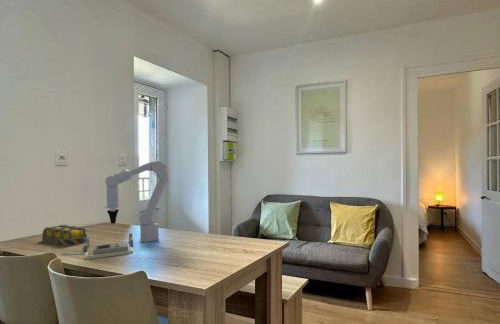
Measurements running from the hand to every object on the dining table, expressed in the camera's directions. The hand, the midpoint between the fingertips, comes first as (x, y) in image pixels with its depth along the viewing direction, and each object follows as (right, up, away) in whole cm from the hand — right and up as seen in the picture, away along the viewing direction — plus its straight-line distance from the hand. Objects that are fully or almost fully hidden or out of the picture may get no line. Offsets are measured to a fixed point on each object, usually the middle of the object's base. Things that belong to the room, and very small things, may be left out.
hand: (113, 223), depth 171 cm
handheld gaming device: (+8, -10, -21) cm, 25 cm away
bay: (+8, -10, -23) cm, 27 cm away
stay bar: (-9, -11, -22) cm, 26 cm away
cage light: (-31, -12, +8) cm, 34 cm away
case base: (+2, -10, -8) cm, 13 cm away
